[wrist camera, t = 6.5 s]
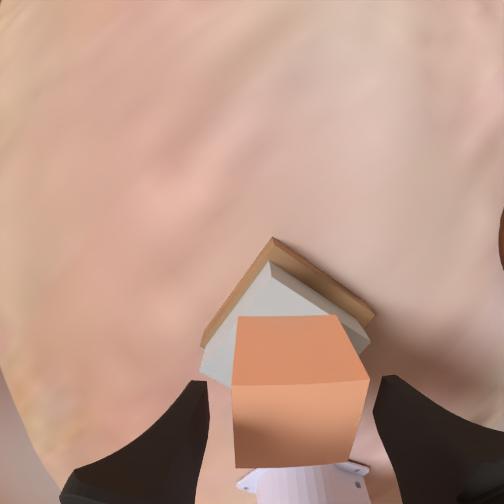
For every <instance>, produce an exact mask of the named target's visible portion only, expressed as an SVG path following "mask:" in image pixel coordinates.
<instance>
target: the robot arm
mask: <svg viewBox="0 0 504 504" xmlns="http://www.w3.org/2000/svg"><path fill="white" fill-rule="evenodd" d="M373 416H374V420H375V424H376V427H377V431H378V433H379V436H380V438H381V440H382V443H383V445H384V447H385V450H386V452H387V454H388V457H389V459H390V461H391V464H392V466H393V469H394V471H395V474H396V477H397V481H398V485H399V489H400V493H401V497H402V502H403V504H504V432H502V431H497V430H493V429H490V428H486V427H483V426H480V425H478V424H475V423H472V422H470V421H467V420H465V419H463V418H461V417H459V416H457V415H455V414H453V413H451V412H449V411H447V410H446V409H444V408H442V407H441V406H439V405H438V404H436V403H435V402H433V401H432V400H430V399H429V398H427V397H426V396H424V395H423V394H421V393H420V392H419V391H417V390H416V389H415V388H413V387H412V386H411V385H409V384H408V383H406V382H405V381H404V380H402V379H401V378H399V377H398V376H396V375H389V376H382V380H381V384H380V388H379V391H378V395H377V398H376V402H375V405H374V408H373ZM209 421H210V413H209V402H208V390H207V381H194V380H192V381H190V382H189V383H188V385H187V386H186V388H185V389H184V390H183V392H182V393H181V394H180V396H179V397H178V398H177V399H176V401H175V402H174V403H173V404H172V405H171V406H170V408H169V409H168V410H167V411H166V412H165V413H164V414H163V415H162V416H161V417H160V418H159V419H158V420H157V421H156V422H155V423H154V424H153V425H152V426H151V427H150V428H149V429H148V430H146V431H145V432H144V433H143V434H142V435H140V436H139V437H138V438H136V439H135V440H134V441H132V442H131V443H129V444H128V445H126V446H125V447H123V448H122V449H120V450H118V451H117V452H115V453H113V454H111V455H109V456H107V457H105V458H103V459H101V460H99V461H96V462H94V463H91V464H89V465H86V466H83V467H80V468H77V469H74V471H73V472H72V474H71V475H70V477H69V478H68V480H67V482H66V484H65V486H64V488H63V490H62V492H61V494H60V496H59V499H60V503H61V504H195V495H196V487H197V481H198V477H199V473H200V469H201V464H202V460H203V456H204V452H205V448H206V443H207V439H208V431H209ZM369 471H370V470H369V467H366V466H363V465H360V464H356V463H353V462H350V461H347V462H343V463H335V464H326V465H316V466H304V467H287V468H256V469H255V470H254V471H252V472H251V473H250V474H248V475H247V476H245V477H244V478H243V479H241V480H240V481H239V482H237V488H239V489H242V490H245V491H248V492H251V493H254V494H257V504H371V501H370V498H369V494H368V491H367V488H366V485H365V481H364V478H363V476H365V475H366V474H367V473H368V472H369Z"/></svg>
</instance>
